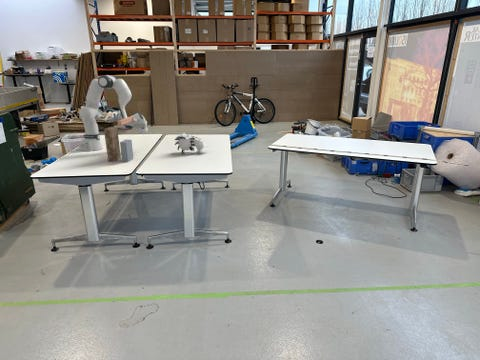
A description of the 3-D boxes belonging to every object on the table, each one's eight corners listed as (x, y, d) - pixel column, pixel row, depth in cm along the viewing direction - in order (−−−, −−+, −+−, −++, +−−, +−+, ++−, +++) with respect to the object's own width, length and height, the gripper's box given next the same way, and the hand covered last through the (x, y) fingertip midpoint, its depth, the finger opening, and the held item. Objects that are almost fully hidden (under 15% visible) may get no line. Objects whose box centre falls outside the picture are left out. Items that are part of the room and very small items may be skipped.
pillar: (108, 161, 268) (103, 129, 260) (114, 157, 278) (110, 126, 269) (115, 161, 268) (111, 129, 259) (121, 158, 277) (117, 127, 268)
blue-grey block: (122, 161, 267) (119, 142, 261) (127, 158, 276) (125, 139, 271) (128, 162, 266) (125, 142, 261) (133, 158, 276) (131, 139, 270)
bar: (118, 125, 255) (117, 121, 254) (130, 120, 276) (130, 116, 275) (121, 125, 255) (121, 121, 254) (133, 120, 275) (133, 116, 274)
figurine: (208, 157, 289) (173, 154, 285) (208, 153, 304) (174, 149, 301) (210, 139, 284) (174, 135, 280) (210, 135, 299) (176, 131, 295)
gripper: (126, 120, 287) (118, 114, 274) (148, 121, 285) (142, 115, 271) (125, 127, 286) (117, 121, 273) (148, 128, 284) (141, 122, 270)
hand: (130, 118), depth 272 cm, fingers closed on bar, 3 cm apart
